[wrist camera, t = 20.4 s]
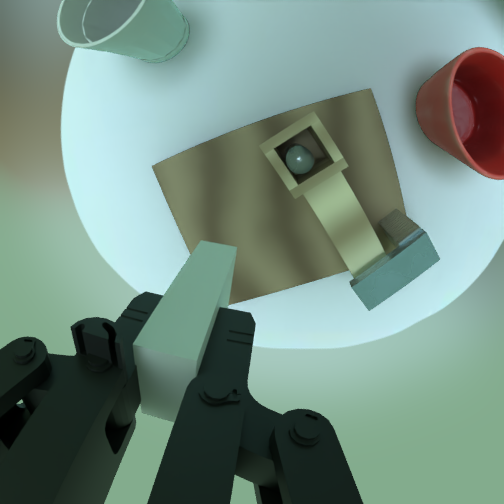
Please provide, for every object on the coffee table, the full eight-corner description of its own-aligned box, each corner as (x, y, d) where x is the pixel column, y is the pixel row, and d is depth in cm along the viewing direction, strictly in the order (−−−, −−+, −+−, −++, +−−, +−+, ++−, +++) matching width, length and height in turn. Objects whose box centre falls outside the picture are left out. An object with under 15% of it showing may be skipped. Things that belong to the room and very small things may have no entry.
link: (384, 244, 29) (400, 265, 25) (343, 268, 31) (352, 292, 26) (307, 114, 25) (313, 111, 21) (262, 143, 27) (258, 146, 22)
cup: (187, 72, 25) (133, 44, 14) (118, 69, 25) (46, 52, 14) (205, 4, 22) (165, -51, 11) (136, 5, 22) (75, -34, 11)
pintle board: (367, 89, 25) (370, 88, 24) (408, 246, 30) (411, 249, 29) (155, 164, 29) (151, 166, 28) (218, 303, 35) (216, 308, 34)
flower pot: (385, 131, 26) (429, 134, 17) (420, 45, 22) (467, 21, 13) (461, 180, 27) (514, 203, 18) (491, 100, 22) (547, 101, 13)
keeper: (336, 252, 30) (350, 285, 24) (396, 208, 28) (425, 230, 21) (353, 274, 31) (368, 310, 25) (410, 232, 29) (440, 259, 22)
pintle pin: (302, 140, 26) (308, 143, 20) (309, 160, 27) (317, 169, 21) (281, 147, 27) (282, 151, 21) (289, 167, 27) (291, 177, 21)
